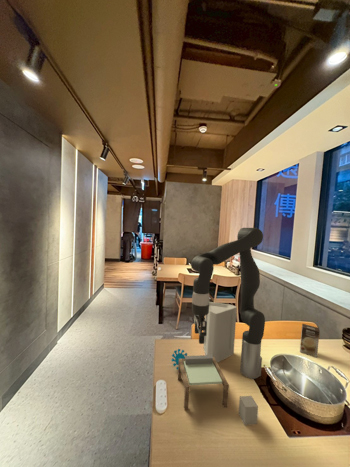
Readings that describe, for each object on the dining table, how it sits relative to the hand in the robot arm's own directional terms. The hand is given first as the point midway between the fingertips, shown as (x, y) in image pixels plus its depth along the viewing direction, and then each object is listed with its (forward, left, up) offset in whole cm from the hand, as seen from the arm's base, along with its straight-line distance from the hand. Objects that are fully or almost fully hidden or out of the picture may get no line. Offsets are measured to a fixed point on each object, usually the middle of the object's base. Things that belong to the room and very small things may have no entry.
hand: (199, 338), depth 93 cm
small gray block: (-17, +14, -21) cm, 31 cm away
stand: (-2, 0, -25) cm, 25 cm away
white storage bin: (-18, -29, -25) cm, 42 cm away
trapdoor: (-2, 0, -16) cm, 16 cm away
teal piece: (+4, -18, -25) cm, 31 cm away
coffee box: (-78, -26, -25) cm, 86 cm away
